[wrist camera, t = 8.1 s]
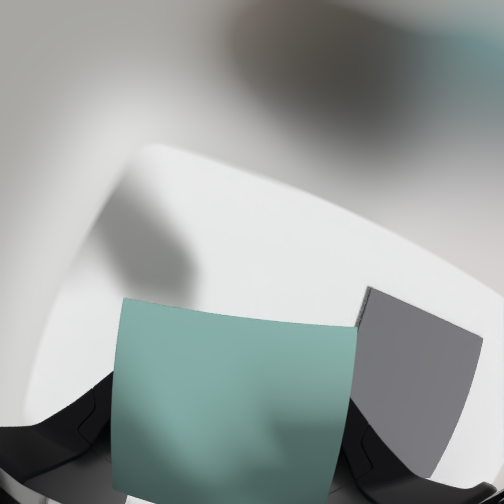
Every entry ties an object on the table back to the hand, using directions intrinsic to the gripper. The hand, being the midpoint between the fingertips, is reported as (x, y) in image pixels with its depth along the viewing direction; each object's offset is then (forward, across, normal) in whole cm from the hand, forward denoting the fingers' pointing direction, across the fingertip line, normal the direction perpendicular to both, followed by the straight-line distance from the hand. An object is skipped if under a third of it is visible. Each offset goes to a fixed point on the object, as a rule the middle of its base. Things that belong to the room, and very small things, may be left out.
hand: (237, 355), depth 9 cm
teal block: (+4, 0, +6) cm, 7 cm away
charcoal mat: (+6, -18, +13) cm, 23 cm away
